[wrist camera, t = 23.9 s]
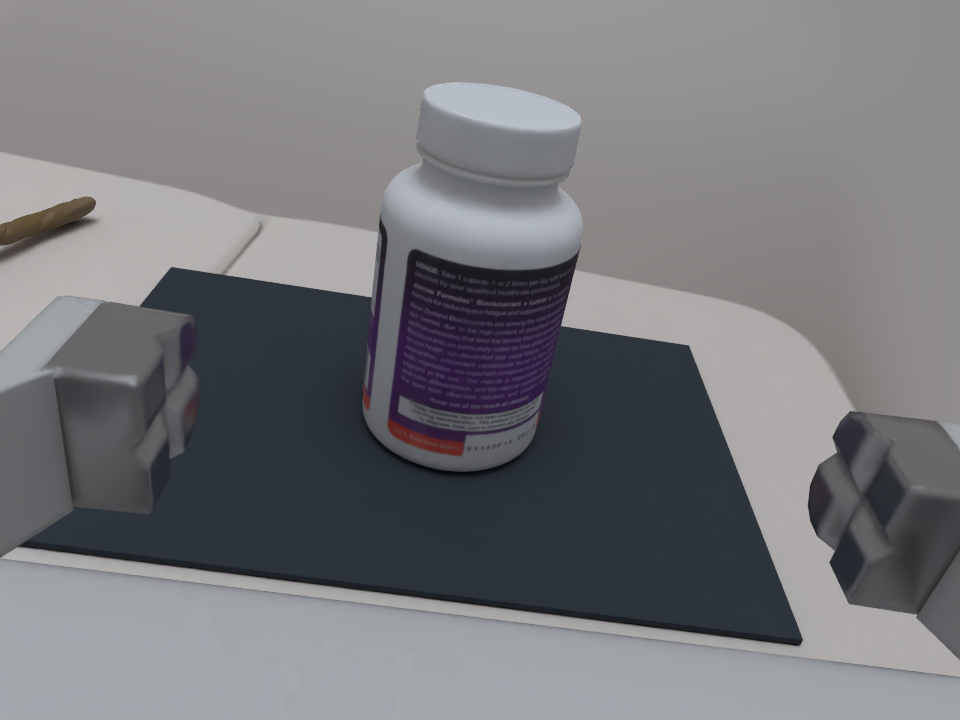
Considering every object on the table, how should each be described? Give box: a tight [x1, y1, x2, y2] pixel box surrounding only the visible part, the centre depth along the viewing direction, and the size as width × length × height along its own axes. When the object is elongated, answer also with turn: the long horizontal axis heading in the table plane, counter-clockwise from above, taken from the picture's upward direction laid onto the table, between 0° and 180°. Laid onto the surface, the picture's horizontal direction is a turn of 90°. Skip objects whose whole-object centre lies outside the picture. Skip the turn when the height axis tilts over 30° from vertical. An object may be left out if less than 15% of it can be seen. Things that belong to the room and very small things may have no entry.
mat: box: [21, 267, 803, 645], centre depth 25 cm, size 20×14×1 cm
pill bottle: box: [363, 82, 583, 472], centre depth 22 cm, size 5×5×10 cm
